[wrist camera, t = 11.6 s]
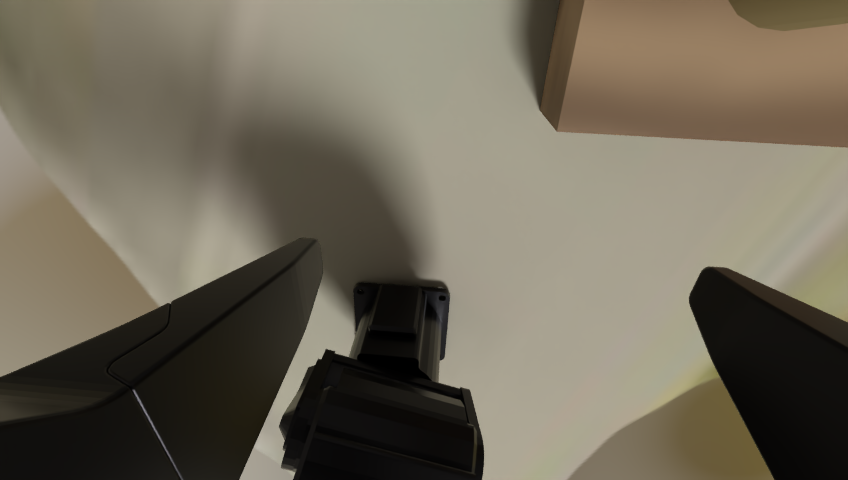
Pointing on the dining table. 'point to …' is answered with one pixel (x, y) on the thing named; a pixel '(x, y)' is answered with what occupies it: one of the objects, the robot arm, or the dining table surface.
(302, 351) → the dining table surface
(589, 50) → the walnut base
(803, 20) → the olive-brown rounded piece
